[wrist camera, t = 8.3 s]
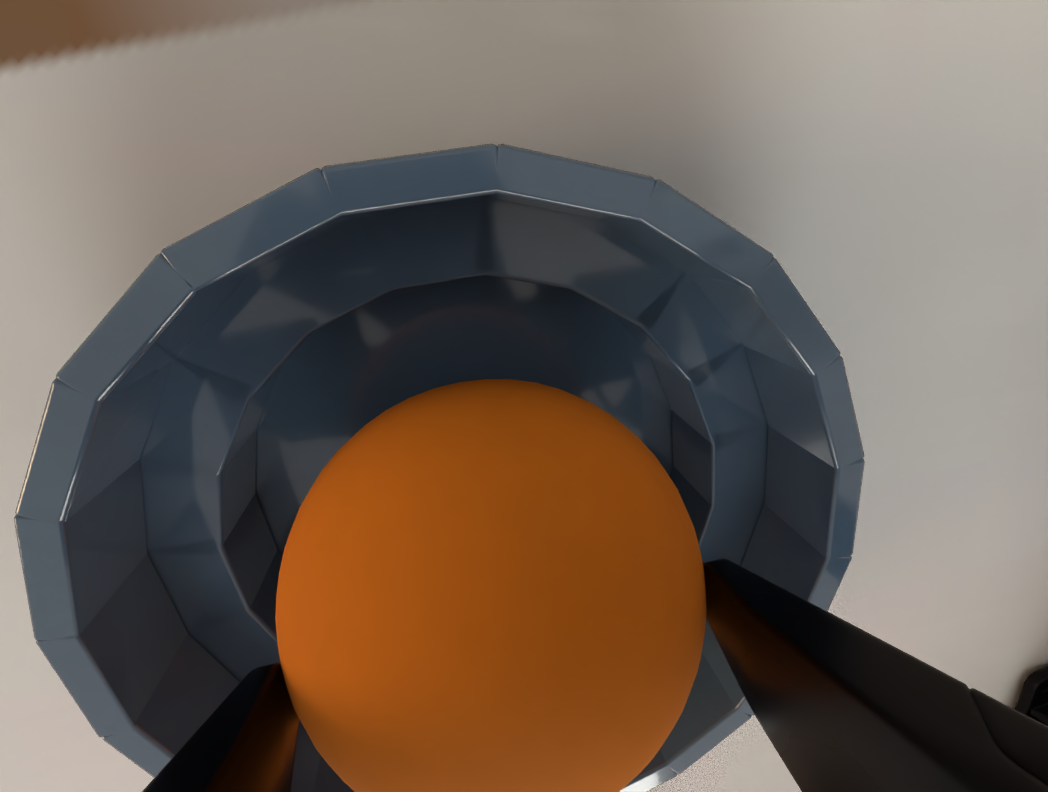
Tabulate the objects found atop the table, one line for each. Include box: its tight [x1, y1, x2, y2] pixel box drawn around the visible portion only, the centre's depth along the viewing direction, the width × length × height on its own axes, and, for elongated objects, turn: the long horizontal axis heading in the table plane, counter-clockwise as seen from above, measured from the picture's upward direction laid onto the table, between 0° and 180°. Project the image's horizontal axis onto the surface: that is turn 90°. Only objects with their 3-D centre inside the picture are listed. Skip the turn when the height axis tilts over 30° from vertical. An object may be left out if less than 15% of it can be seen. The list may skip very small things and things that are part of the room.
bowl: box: [14, 144, 864, 792], centre depth 11 cm, size 14×14×5 cm
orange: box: [275, 379, 707, 792], centre depth 9 cm, size 7×7×7 cm
